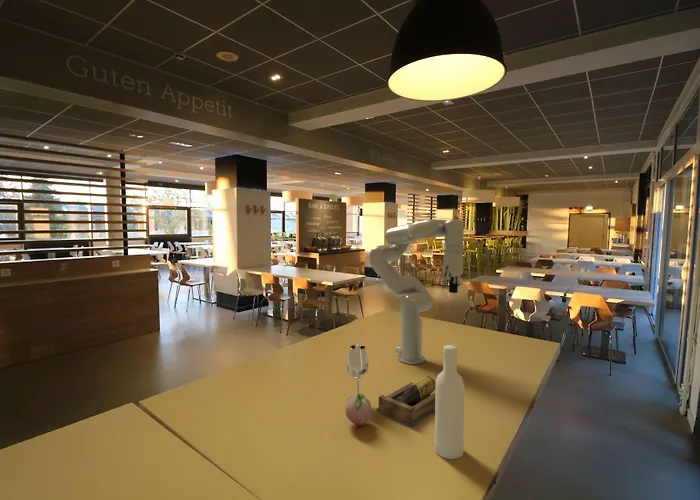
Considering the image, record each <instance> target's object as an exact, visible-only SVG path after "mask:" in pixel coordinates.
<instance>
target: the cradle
mask: <svg viewBox="0 0 700 500" xmlns="http://www.w3.org/2000/svg"><path fill="white" fill-rule="evenodd" d="M413 383H414V382H410V383H408V384H406V385H404V386H403V387H400V388H398V389H397V390H395V391H392V392H391V393H389V394H388V395H383V394H382V395H380V396H378V407H376V408H375V409H376V412H378V413H381V414H384V415H385V416H388V417H390V418H392V419H395V420H397V421H400V422H401V423H404V424H406V425H408V426H411V427H413V428H414V427H415V426H417V425H418V424H419V423H421V422H422V421H424V420H425V419H427V418H428V417H429V416H430V415H432V414H434V413H435V392H432V393H431V394H430V395H428V396H427V397H426V398H424V399H423V400H421V401H420V402H418V403H413V404H409V405H407V404H404V403H402V402H399V401H396V398H397V397H399V396H401V395H403V394H404V391H405V389H406V388H407V387H409V386H410V385H411V384H413Z"/></svg>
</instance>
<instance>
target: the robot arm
mask: <svg viewBox="0 0 700 500" xmlns="http://www.w3.org/2000/svg"><path fill="white" fill-rule="evenodd" d="M464 227H465V226H464V221H463V220H461V219H425V220H420V221H415V222H412V223H407V224H403V225H398V226H394V227H391V228H389V229H387V230H386V232H385V234H384V239H385V240H386V242H387V243H388V244H384V245H382V244H381V245H380V244H379V245H376V246H375V247H372V249H371V250H370V251H369V256H368V257H369V263H370V266H371V268H372V269H373V271H374V272H375V273H376V274H377V275H378V276H379V278H381V280H382V281H383V283H384V284H385V286H387V288H388V289H389V291H390V292H391V294H393V295H394V296H396V297H401V298H400V300H399V303H398V305H399V311H400V317H401V318H400V320H401V322H400V323H401V347H400V346H396V348H395V350H394V351H395V353H398V356H397V360H398V361H399V362H401V363H403V364H407V365H408V364H409V365H418V364H419V365H420V364H423V363H424V362H425V361H426V357H425V356H424V355H423V354H422V353H423V351H422V350H423V348H422V347H423V346H422V345H423V322H422V318H421V315H420V313H422V312H425V311H429V310H431V308H432V307H433V303H434V302H433V296H432V295H431V294H430V293H429V291H428V290H427V288H426V287H425V286H424V285H423V284H422V283H421V281H420V280H419V279H418V278H416V277H415V276H414V275H411V274H410V275H409V274H408V275H402V274H400V272H398V270H397V269H396V268H395V267H394V266H393V265H392V264H390V262H396V261H399V260H400V259H401V258H402V256H403V255H404V254H405V252H406V250H407V249H408V247H409V246H410V244H411V243H415V242H417V241H418V240H419V239H420V240H421V239H427V238H441V237H442V238H444V253H443V259H442V269H441V271H442V274H441V275H442V277H445V280H446V281H448V292H449V293H452V294H457V293H458V289H459V288H458V287H459V285H458V284H459V280H460V278H461V276H462V275H463V273H464V258H463V257H464V256H463V254H464ZM388 262H389V263H388Z"/></svg>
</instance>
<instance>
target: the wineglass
mask: <svg viewBox="0 0 700 500" xmlns="http://www.w3.org/2000/svg"><path fill="white" fill-rule="evenodd" d="M346 361H347V362H346V369H347V373H348V374H349V375H350V376H351V377H352V378H354V379H356V395H351V396H350V397H348V398H347V402H348V401H349V399H351V398H352V397H355V396H357V395H358V394H360V391H359V389H360V388H359V387H360V379H361V378H364V377H365V376H366V375H367V373H368V372H369V368H370V367H369V358H368V352H367V349H366V346H365V345H363V344H351V346H349V351H348V355H347V360H346Z"/></svg>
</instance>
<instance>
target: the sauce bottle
mask: <svg viewBox="0 0 700 500" xmlns="http://www.w3.org/2000/svg"><path fill="white" fill-rule="evenodd" d="M434 391H436V380H435V379H434V378H433V377H431V376H429V375H427V376H422V377H421V378H420V379H418V380H416V381H415V382H413V384H411V385H410V386H409V387H407V388H406V389H405V391H404V394H403V395H401V396H399V397H397V398H396V401H399V402H402V403H404V404H407V405H409V404H413V403H418V402H420V401H421V400H423V399H424V398H426V397H427V396H428V395H430V394H431V395H432V394H433V393H434Z"/></svg>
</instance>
